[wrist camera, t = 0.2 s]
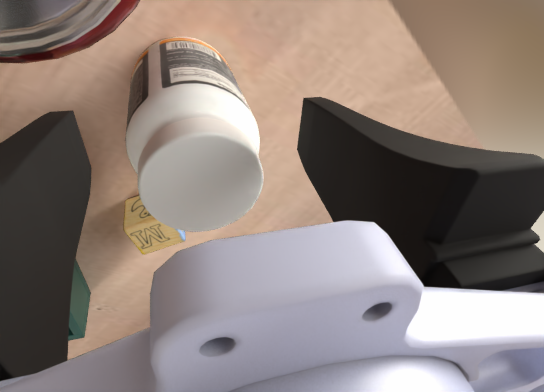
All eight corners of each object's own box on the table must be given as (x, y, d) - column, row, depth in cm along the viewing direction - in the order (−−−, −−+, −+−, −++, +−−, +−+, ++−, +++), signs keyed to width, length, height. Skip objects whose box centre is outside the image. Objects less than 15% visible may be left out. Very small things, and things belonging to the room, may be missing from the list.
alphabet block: (183, 213, 27) (186, 242, 24) (144, 226, 26) (143, 257, 24) (167, 184, 25) (169, 213, 22) (124, 198, 24) (121, 229, 22)
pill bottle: (181, 144, 23) (197, 261, 16) (107, 77, 19) (83, 190, 12) (251, 90, 22) (302, 189, 14) (187, 7, 18) (213, 86, 11)
